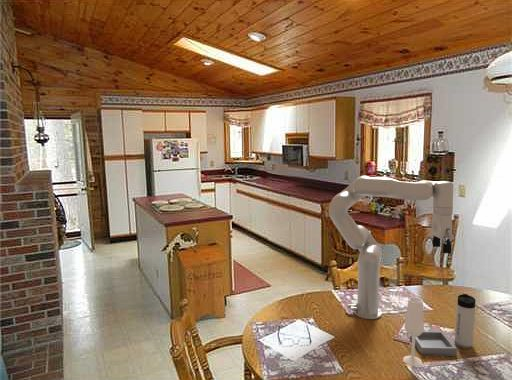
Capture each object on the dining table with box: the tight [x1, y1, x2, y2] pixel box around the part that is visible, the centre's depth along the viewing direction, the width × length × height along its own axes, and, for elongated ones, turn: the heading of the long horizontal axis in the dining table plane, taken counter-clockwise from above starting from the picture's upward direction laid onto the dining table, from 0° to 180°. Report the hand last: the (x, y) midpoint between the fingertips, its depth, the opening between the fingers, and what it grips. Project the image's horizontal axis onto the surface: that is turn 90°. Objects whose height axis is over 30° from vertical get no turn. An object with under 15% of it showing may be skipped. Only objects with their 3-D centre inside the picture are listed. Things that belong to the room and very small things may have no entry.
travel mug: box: [454, 293, 476, 349], centre depth 153 cm, size 6×7×20 cm
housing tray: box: [409, 330, 458, 357], centre depth 153 cm, size 13×13×3 cm
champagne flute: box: [402, 296, 425, 367], centre depth 142 cm, size 7×7×24 cm
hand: (441, 249), depth 165 cm, fingers open, 9 cm apart
